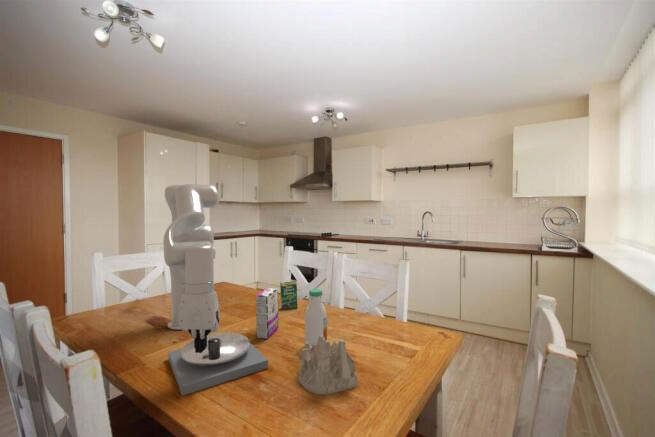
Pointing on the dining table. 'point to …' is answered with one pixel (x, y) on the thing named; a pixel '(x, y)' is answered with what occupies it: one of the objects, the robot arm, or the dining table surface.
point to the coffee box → (288, 295)
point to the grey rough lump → (326, 367)
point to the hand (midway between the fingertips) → (200, 350)
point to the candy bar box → (267, 312)
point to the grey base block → (214, 370)
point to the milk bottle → (315, 318)
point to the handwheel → (216, 349)
